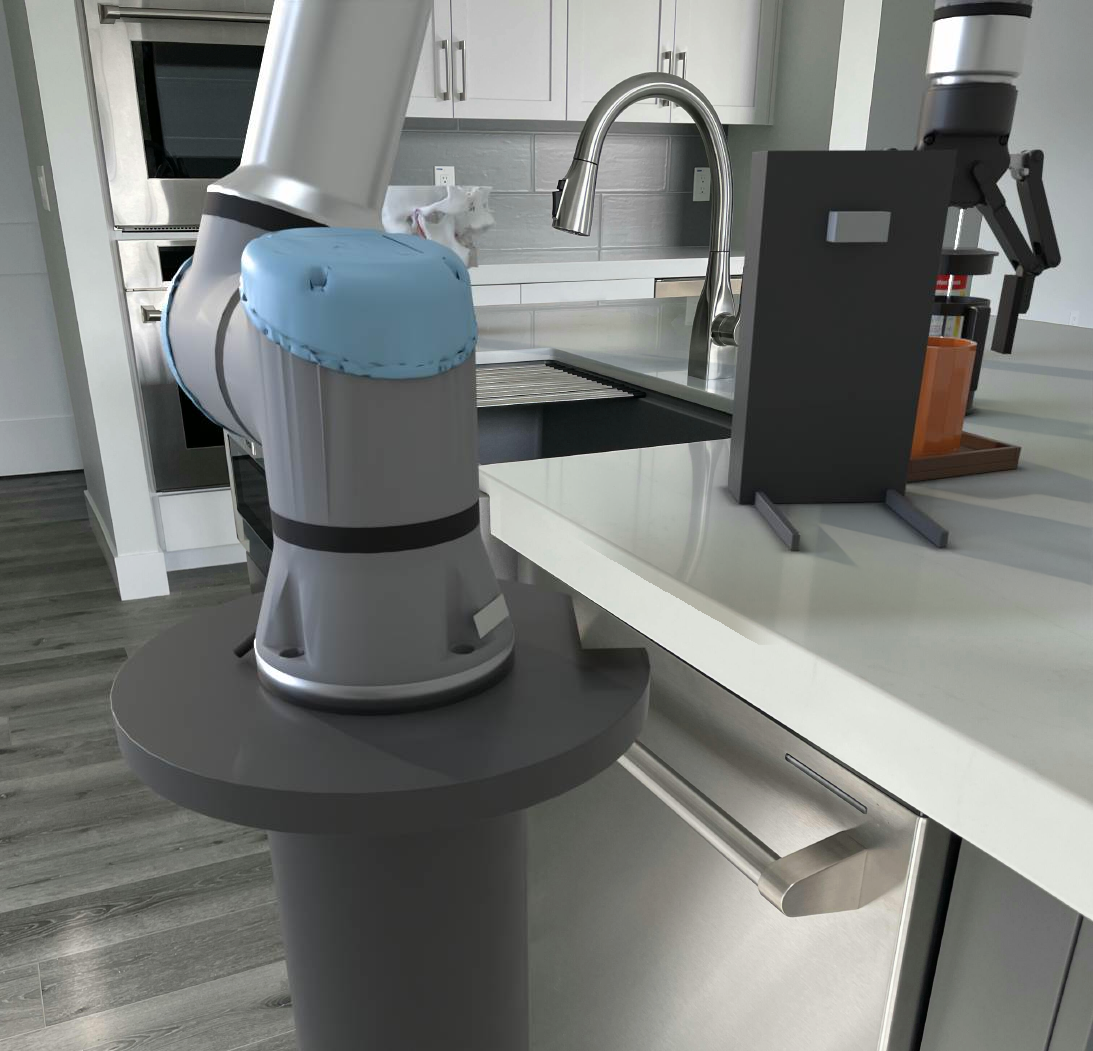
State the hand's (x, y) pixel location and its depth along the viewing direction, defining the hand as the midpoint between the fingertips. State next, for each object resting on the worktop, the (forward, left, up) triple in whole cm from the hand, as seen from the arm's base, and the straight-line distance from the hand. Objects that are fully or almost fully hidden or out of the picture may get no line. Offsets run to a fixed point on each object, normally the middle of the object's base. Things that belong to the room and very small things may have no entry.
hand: (928, 352), depth 99 cm
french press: (+11, +24, -10) cm, 28 cm away
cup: (0, 0, -9) cm, 9 cm away
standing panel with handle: (-13, -18, -10) cm, 24 cm away
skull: (-51, +96, -10) cm, 109 cm away
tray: (0, 0, -10) cm, 10 cm away
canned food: (+25, +64, -10) cm, 70 cm away
